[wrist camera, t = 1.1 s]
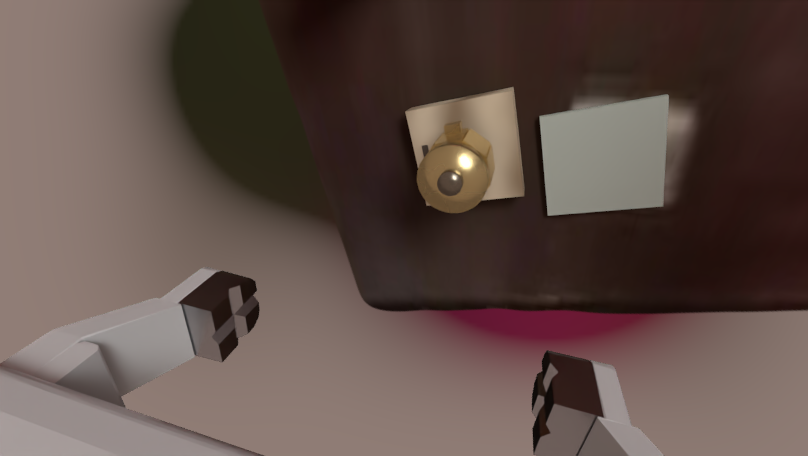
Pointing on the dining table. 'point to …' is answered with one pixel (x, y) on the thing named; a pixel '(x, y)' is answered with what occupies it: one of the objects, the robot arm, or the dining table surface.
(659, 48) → the dining table surface
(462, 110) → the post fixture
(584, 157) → the coaster
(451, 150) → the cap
